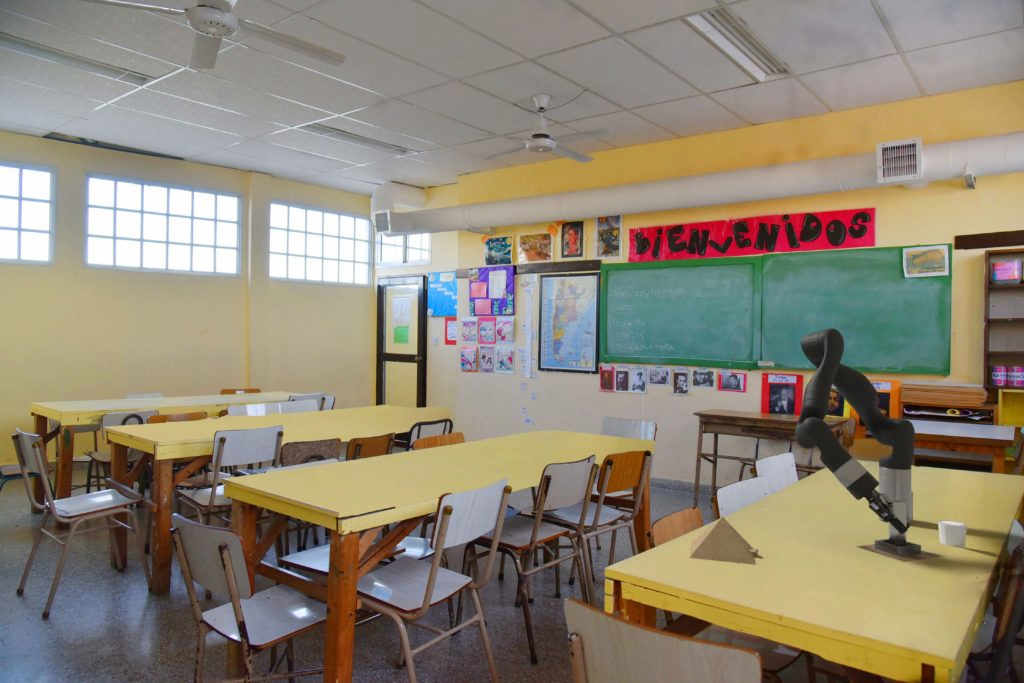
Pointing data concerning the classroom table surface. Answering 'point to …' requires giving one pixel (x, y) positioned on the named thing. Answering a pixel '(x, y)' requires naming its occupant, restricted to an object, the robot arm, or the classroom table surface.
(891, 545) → the square socket base
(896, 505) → the peg
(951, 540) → the white cup
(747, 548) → the model pyramid
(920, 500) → the classroom table surface
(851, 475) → the robot arm
